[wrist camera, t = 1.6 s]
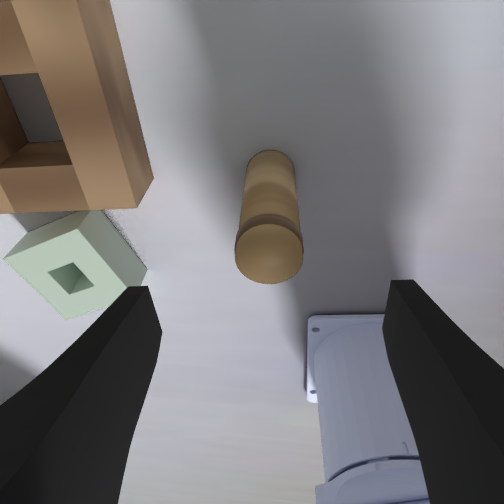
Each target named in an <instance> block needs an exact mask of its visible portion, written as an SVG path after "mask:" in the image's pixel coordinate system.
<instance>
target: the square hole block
mask: <svg viewBox="0 0 504 504" xmlns="http://www.w3.org/2000/svg"><path fill="white" fill-rule="evenodd" d="M26 73H38V74H39V77H40V79H41V82H42V85H43V87H44V90H45V93H46V95H47V98H48V100H49V103H50V106H51V108H52V111H53V114H54V116H55V119H56V122H57V124H58V127H59V129H60V132H61V135H62V137H63V140H64V141H58V142H40V143H28V140H27V138H26V136H25V133H24V131H23V129H22V127H21V124H20V122H19V120H18V117H17V115H16V113H15V111H14V108H13V106H12V104H11V101H10V99H9V97H8V95H7V92H6V90H5V88H4V85H3V83H2V81H1V79H0V214H7V213H32V212H56V211H80V210H105V209H129V208H137V207H138V205H139V204H140V202H141V200H142V198H143V197H144V195H145V193H146V191H147V190H148V188H149V186H150V184H151V183H152V181H153V179H154V178H153V174H152V170H151V166H150V161H149V157H148V153H147V149H146V145H145V141H144V137H143V133H142V129H141V125H140V121H139V117H138V113H137V109H136V105H135V101H134V97H133V93H132V89H131V85H130V81H129V77H128V73H127V69H126V65H125V61H124V57H123V53H122V49H121V45H120V41H119V37H118V33H117V29H116V25H115V21H114V17H113V13H112V9H111V5H110V1H109V0H0V75H13V74H26Z"/></svg>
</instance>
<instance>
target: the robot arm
mask: <svg viewBox="0 0 504 504" xmlns="http://www.w3.org/2000/svg"><path fill="white" fill-rule="evenodd" d="M314 327H318V328H314ZM161 336H162V329H161V326H160V323H159V320H158V317H157V313H156V310H155V307H154V304H153V301H152V298H151V295H150V291H149V288H148V286H128V287H127V288H126V289H125V290H124V291H123V292H122V293H121V295H120V296H119V297H118V298H117V299H116V300H115V301H114V302H113V303H112V304H111V305H110V306H109V307H108V308H107V309H106V310H105V311H104V313H103V314H102V315H101V316H100V317H99V318H98V319H97V320H96V321H95V322H94V323H93V324H92V325H91V326H90V327H89V328H88V329H87V330H86V331H85V332H84V333H83V334H82V335H81V336H80V337H79V338H78V339H77V340H76V341H75V342H74V343H73V344H72V345H71V346H70V347H69V348H68V349H67V350H66V351H65V352H64V353H63V354H61V355H60V356H59V357H58V358H57V359H56V360H55V361H54V362H53V363H52V364H51V365H50V366H49V367H47V368H46V369H45V370H44V371H43V372H42V373H41V374H39V375H38V376H37V377H36V378H35V379H34V380H32V381H31V382H30V383H29V384H27V385H26V386H25V387H24V388H22V389H21V390H20V391H19V392H18V393H16V394H15V395H14V396H12V397H11V398H10V399H9V400H7V401H6V402H4V403H3V404H2V405H0V504H118V500H119V495H120V490H121V485H122V480H123V476H124V471H125V466H126V462H127V457H128V453H129V449H130V445H131V441H132V438H133V434H134V431H135V428H136V425H137V422H138V419H139V415H140V412H141V409H142V406H143V403H144V400H145V397H146V394H147V391H148V388H149V385H150V382H151V379H152V375H153V372H154V369H155V366H156V363H157V358H158V353H159V348H160V342H161ZM306 398H307V400H308V401H309V402H318V412H319V422H320V432H321V442H322V452H323V462H324V472H325V482H326V483H324V484H320V485H316V486H315V493H316V504H504V369H503V368H502V367H501V366H500V365H499V364H498V363H497V362H495V361H494V360H493V359H492V358H491V357H490V356H489V355H488V354H486V353H485V352H484V351H483V350H482V349H481V348H480V347H479V346H478V345H477V344H476V343H475V342H473V341H472V340H471V339H470V338H469V337H468V336H467V335H466V334H465V333H464V332H463V331H462V330H461V329H460V328H459V327H458V326H457V325H456V324H455V323H454V322H453V321H452V320H451V319H450V318H449V317H448V316H447V315H446V314H445V313H444V312H443V311H442V310H441V308H440V307H439V306H438V305H437V304H436V303H435V302H434V301H433V300H432V299H431V298H430V297H429V296H428V295H427V294H426V293H425V291H424V290H423V289H422V288H421V287H420V286H419V285H418V284H417V283H416V282H415V281H414V280H391V284H390V289H389V294H388V300H387V305H386V310H385V314H370V315H315V316H312V317H310V318H309V319H308V339H307V387H306Z"/></svg>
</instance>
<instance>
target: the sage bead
mask: <svg viewBox="0 0 504 504" xmlns="http://www.w3.org/2000/svg"><path fill="white" fill-rule="evenodd" d="M3 260H4V261H5V262H6V263H7V264H8V265H9V266H11V267H12V268H13V269H14V270H15V271H16V272H17V273H18V274H19V275H20V276H21V277H22V278H23V279H24V280H25V281H26V282H27V283H28V284H29V285H30V286H31V287H32V288H33V289H34V290H35V291H36V292H38V293H39V294H40V295H41V296H42V297H43V298H44V299H45V300H46V301H47V302H48V303H49V304H50V305H51V306H52V307H53V308H54V309H55V310H56V311H57V312H58V313H59V314H60V315H61V316H62V317H63V318H65V319H66V320H69V319H72V318H75V317H78V316H81V315H84V314H87V313H90V312H94V311H97V310H100V309H103V308H106V307H109V306H110V305H111V304H112V303H113V302H114V301H115V300H116V299H117V298H118V297H119V296H120V295H121V293H122V292H123V291H124V290H125V289H126V288H127V287H128V286H141V284H142V281H143V279H144V276H145V274H146V272H147V268H146V267H145V266H144V264H143V263H142V262H141V260H140V259H139V258H138V257H137V255H136V254H135V253H134V251H133V250H132V249H131V248H130V246H129V245H128V244H127V242H126V241H125V240H124V239H123V237H122V236H121V235H120V233H119V232H118V231H117V230H116V228H115V227H114V226H113V224H112V223H111V222H110V221H109V219H108V218H107V217H106V215H105V214H104V213H103V212H102V210H80V211H77V212H75V213H72V214H70V215H68V216H65V217H63V218H61V219H58V220H56V221H54V222H51V223H49V224H46V225H44V226H42V227H39V228H37V229H35V230H32V231H30V232H28V233H27V234H26V235H25V236H24V237H23V238H22V239H21V240H20V241H19V242H18V243H17V244H16V245H15V247H14V248H13V249H12V250H11V251H10V252H9V253H8V254H7V255H6V256H5V257H4V258H3Z"/></svg>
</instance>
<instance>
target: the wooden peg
mask: <svg viewBox="0 0 504 504" xmlns="http://www.w3.org/2000/svg"><path fill="white" fill-rule="evenodd" d="M303 252H304V250H303V240H302V234H301V232H300V223H299V213H298V203H297V193H296V182H295V172H294V166H293V163H292V162H291V160H290V159H289V158H288V157H287V156H286V155H285V154H283V153H282V152H279V151H276V150H266V151H262V152H260V153H258V154H256V155H255V156H254V157H253V158H252V159H251V160H250V162H249V163H248V166H247V171H246V178H245V186H244V193H243V201H242V208H241V215H240V223H239V230H238V232H237V236H236V242H235V261H236V265H237V267H238V269H239V270H240V272H241V273H242V274H243V275H244V276H246V277H247V278H249V279H250V280H252V281H255V282H258V283H263V284H276V283H280V282H283V281H286V280H288V279H290V278H291V277H293V276H294V275H295V274H296V273H297V272H298V271H299V269H300V267H301V265H302V261H303Z"/></svg>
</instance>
